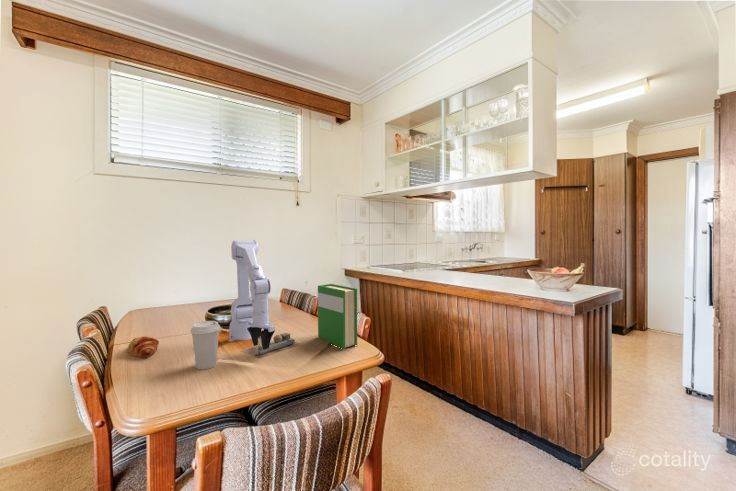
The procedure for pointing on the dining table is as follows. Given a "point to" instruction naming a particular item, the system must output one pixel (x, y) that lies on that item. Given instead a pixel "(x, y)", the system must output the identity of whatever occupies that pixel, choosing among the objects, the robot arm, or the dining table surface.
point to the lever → (274, 345)
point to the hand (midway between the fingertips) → (261, 346)
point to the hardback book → (337, 315)
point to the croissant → (143, 346)
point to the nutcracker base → (254, 350)
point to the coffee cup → (205, 343)
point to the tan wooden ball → (278, 338)
